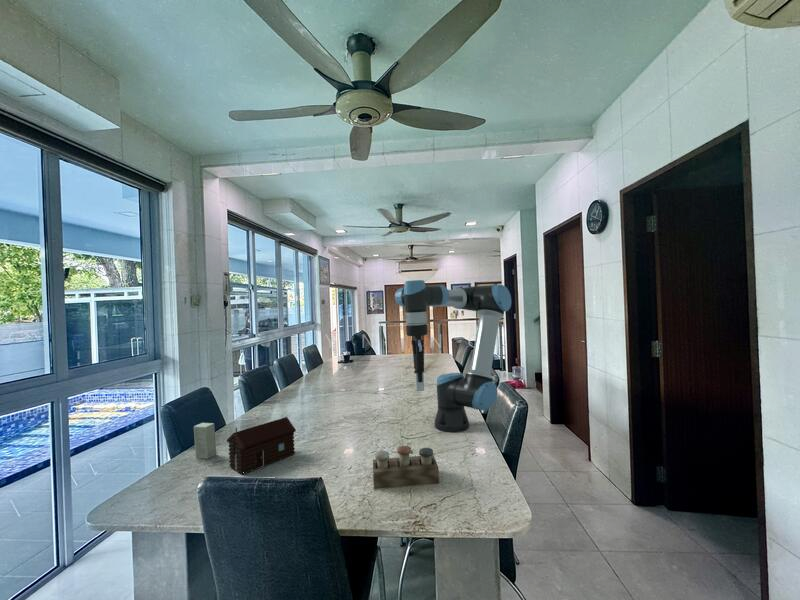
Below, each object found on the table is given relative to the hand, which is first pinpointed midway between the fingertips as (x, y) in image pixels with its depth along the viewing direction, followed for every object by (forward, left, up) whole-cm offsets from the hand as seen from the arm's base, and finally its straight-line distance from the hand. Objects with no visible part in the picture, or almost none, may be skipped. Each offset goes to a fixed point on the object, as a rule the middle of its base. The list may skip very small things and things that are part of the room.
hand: (420, 390), depth 129 cm
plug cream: (+15, +13, -24) cm, 31 cm away
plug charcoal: (+1, +13, -24) cm, 27 cm away
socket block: (+8, +13, -25) cm, 29 cm away
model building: (+58, -9, -25) cm, 64 cm away
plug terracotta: (+8, +13, -23) cm, 27 cm away
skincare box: (+82, -17, -25) cm, 87 cm away
